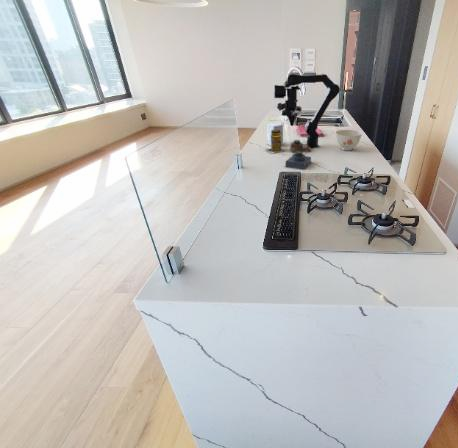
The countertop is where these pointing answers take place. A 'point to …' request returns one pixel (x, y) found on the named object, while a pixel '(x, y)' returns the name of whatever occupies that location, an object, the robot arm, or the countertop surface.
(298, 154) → the nozzle
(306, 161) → the dispenser
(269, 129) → the white packaging box
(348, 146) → the bowl
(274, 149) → the condiment
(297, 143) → the nozzle
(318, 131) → the dish towel
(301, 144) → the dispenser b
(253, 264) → the countertop surface
